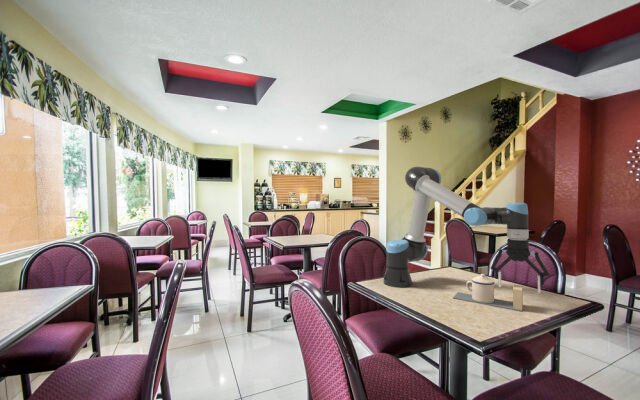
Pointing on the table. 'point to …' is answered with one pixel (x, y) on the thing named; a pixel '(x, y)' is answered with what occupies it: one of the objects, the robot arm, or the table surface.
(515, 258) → the robot arm
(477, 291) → the teacup with lid
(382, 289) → the table surface
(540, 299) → the table surface
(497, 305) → the runner
